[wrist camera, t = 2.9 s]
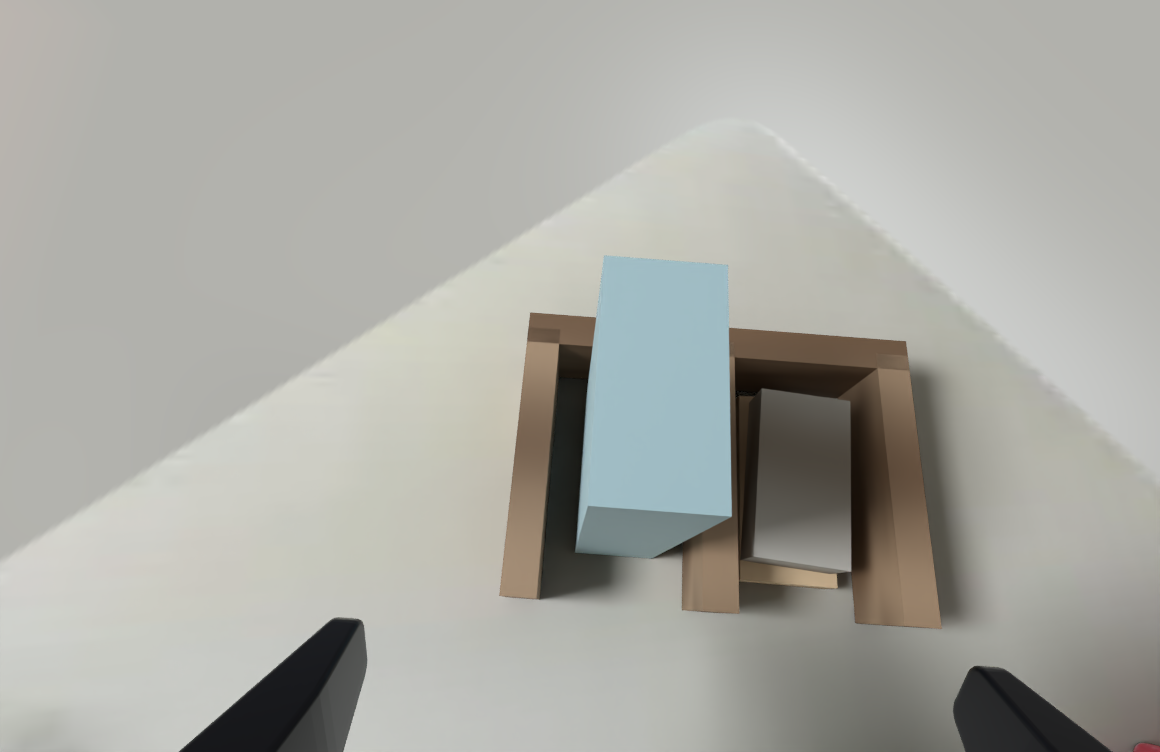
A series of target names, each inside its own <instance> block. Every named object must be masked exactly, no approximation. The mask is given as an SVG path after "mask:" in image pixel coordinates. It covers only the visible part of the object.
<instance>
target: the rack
mask: <svg viewBox="0 0 1160 752" xmlns="http://www.w3.org/2000/svg"><path fill="white" fill-rule="evenodd" d="M595 324H596V318H594V317H581V316H568V315H555V314H542V313H530V320H529V329H528V338H527V347H526V357H525V366H524V375H523V384H522V393H521V402H520V412H519V421H518V430H517V439H516V448H515V457H514V467H513V476H512V485H511V494H510V503H509V512H508V521H507V531H506V540H505V549H504V558H503V567H502V576H501V586H500V595H499V596H505V597H513V598H526V599H540V591H541V579H542V568H543V557H544V545H545V534H546V522H547V511H548V499H549V488H550V476H551V465H552V454H553V442H554V431H555V419H556V408H557V396H558V385H559V377H564V378H577V379H589V372H590V364H591V356H592V348H593V340H594V332H595ZM729 372H730V436H731V499H732V517H730V518H728V519H726V520H724V521H723V522H721V523H719V524H717V525H715V526H713V527H711V528H709V529H707V530H705V531H703V532H701V533H700V534H698V535H696V536H694V537H692V538H690V539H688V540H686V541H684V542H683V562H682V610H687V611H700V612H713V613H737V614H739V569H738V515H737V462H736V409H735V391H747V392H759V391H760V390H761V389H762V388H763V389H770V390H777V391H784V392H791V393H798V394H804V395H811V396H818V397H826V398H837V399H839V400H846V401H850V425H851V575H852V587H853V600H854V612H855V623H860V624H873V625H887V626H904V627H921V628H938V629H942V627H941V619H940V611H939V603H938V595H937V587H936V579H935V571H934V563H933V555H932V547H931V539H930V531H929V523H928V515H927V507H926V499H925V491H924V483H923V475H922V467H921V459H920V451H919V443H918V435H917V427H916V419H915V411H914V403H913V395H912V387H911V379H910V371H909V363H908V355H907V347H906V341H893V340H880V339H867V338H854V337H841V336H828V335H815V334H802V333H789V332H776V331H763V330H750V329H737V328H729Z"/></svg>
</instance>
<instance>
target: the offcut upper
mask: <svg viewBox="0 0 1160 752" xmlns="http://www.w3.org/2000/svg"><path fill="white" fill-rule="evenodd" d="M740 560H743V561H749V562H755V563H762V564H768V565H775V566H781V567H788V568H794V569H800V570H807V571H813V572H820V573H826V574H836V573H844V572H851V425H850V401H846V400H839V399H832V398H825V397H818V396H811V395H804V394H798V393H791V392H784V391H777V390H770V389H763V388H762V389H761V390H760V391H759V392H758V393H757V394H756V396H755V397H754V398H753V399H752V400H751V401H750V402H749V415H748V433H747V450H746V468H745V486H744V503H743V521H742V539H741V556H740Z"/></svg>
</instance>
